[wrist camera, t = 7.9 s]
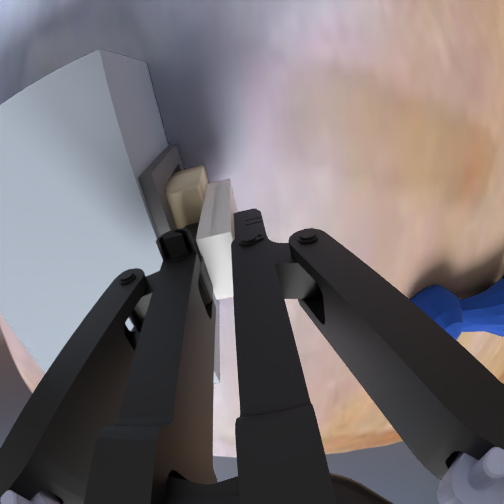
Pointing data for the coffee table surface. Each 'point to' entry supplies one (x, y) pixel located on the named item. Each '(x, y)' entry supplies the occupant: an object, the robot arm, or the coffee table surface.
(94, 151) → the sleeve block
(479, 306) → the toy
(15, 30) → the coffee table surface
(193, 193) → the peg
